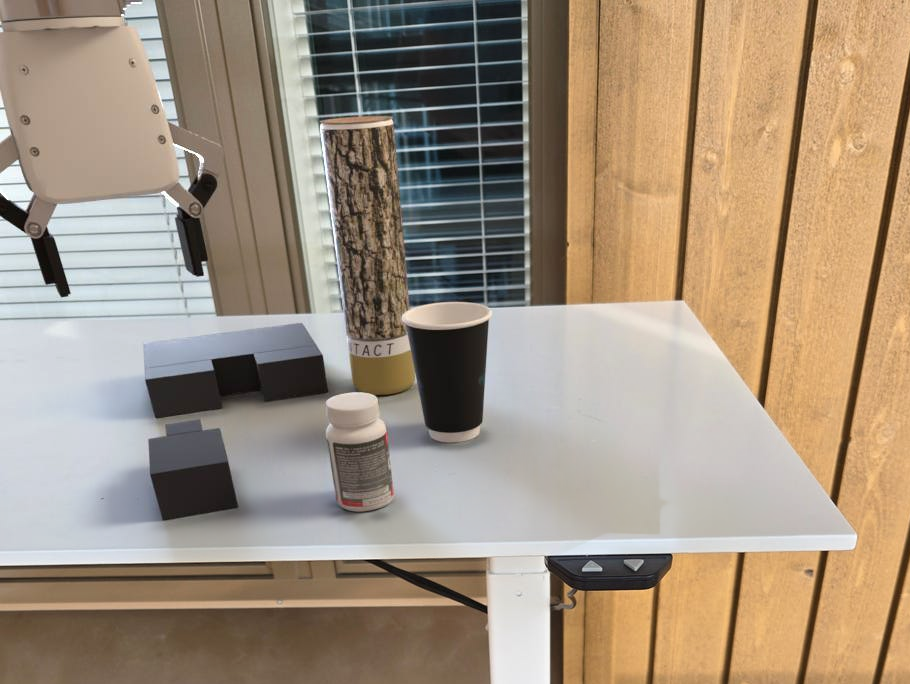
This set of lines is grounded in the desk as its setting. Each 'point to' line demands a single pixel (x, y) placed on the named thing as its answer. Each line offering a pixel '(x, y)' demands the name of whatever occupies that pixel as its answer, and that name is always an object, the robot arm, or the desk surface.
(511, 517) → the desk surface
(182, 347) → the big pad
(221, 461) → the dark grey stepped block
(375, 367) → the paper tube
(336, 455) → the pill bottle
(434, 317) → the dixie cup
